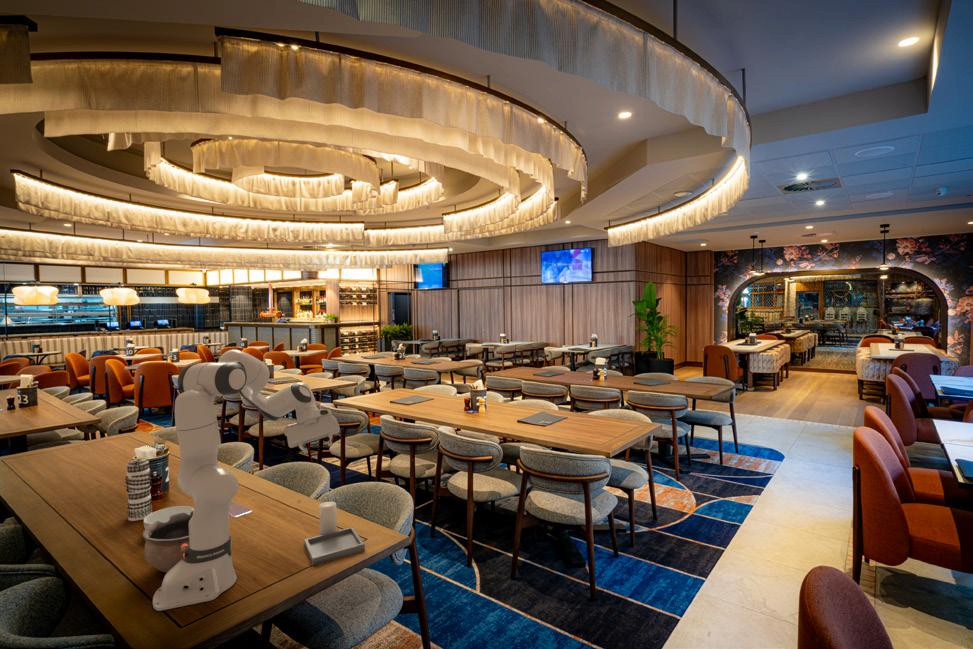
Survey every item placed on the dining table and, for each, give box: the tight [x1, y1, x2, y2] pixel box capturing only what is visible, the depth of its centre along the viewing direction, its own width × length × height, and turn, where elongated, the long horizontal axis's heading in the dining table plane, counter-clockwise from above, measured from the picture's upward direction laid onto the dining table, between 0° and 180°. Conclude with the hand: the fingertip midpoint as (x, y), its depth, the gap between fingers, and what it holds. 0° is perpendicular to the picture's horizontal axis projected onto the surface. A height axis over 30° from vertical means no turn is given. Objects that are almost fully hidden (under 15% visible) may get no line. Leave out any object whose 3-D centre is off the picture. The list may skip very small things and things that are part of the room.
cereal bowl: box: [143, 505, 194, 530], centre depth 187 cm, size 17×17×7 cm
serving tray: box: [303, 526, 366, 566], centre depth 171 cm, size 18×16×2 cm
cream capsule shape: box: [318, 501, 338, 535], centre depth 183 cm, size 6×6×11 cm
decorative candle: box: [125, 457, 153, 522], centre depth 201 cm, size 9×9×25 cm
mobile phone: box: [229, 502, 253, 519], centre depth 206 cm, size 8×1×15 cm
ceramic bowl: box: [142, 511, 194, 573], centre depth 161 cm, size 22×22×15 cm
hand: (318, 449), depth 186 cm, fingers open, 8 cm apart
